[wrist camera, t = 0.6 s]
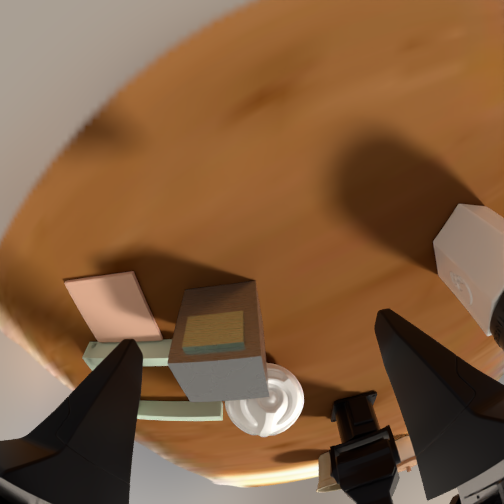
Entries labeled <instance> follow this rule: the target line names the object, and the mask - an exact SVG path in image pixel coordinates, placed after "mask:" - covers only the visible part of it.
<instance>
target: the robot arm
mask: <svg viewBox="0 0 504 504" xmlns="http://www.w3.org/2000/svg"><path fill="white" fill-rule="evenodd" d="M375 334H376V337H377V341H378V344H379V348H380V352H381V355H382V359H383V363H384V366H385V369H386V372H387V374H388V377H389V379H390V382H391V385H392V387H393V390H394V393H395V396H396V398H397V401H398V404H399V407H400V410H401V413H402V415H403V418H404V421H405V424H406V427H407V431H408V434H409V437H410V440H411V443H412V446H413V450H414V453H415V456H416V460H417V464H418V467H419V471H420V475H421V478H422V482H423V486H424V490H425V494H426V498H427V500H430V499H432V498H435V497H437V496H439V495H442V494H444V493H446V492H448V491H450V490H452V489H454V488H456V487H457V489H458V492H459V494H457V495H456V496H454V497H453V498H452V500H451V502H450V504H504V385H503V384H501V383H499V382H498V381H496V380H494V379H493V378H491V377H489V376H487V375H486V374H484V373H482V372H481V371H479V370H477V369H476V368H474V367H473V366H471V365H470V364H468V363H467V362H465V361H464V360H463V359H461V358H460V357H458V356H456V355H455V354H454V353H453V352H451V351H450V350H448V349H447V348H446V347H444V346H443V345H441V344H440V343H439V342H437V341H436V340H434V339H433V338H431V337H430V336H429V335H427V334H426V333H424V332H423V331H421V330H420V329H419V328H417V327H416V326H414V325H413V324H411V323H410V322H408V321H407V320H405V319H404V318H403V317H401V316H400V315H398V314H397V313H395V312H394V311H392V310H391V309H388V308H387V309H382V310H379V311H378V313H377V318H376V322H375ZM142 367H143V354H142V351H141V350H140V348H139V346H138V344H137V343H136V341H135V340H134V339H124V340H122V341H121V342H120V343H119V344H118V345H117V346H116V347H115V348H114V349H113V350H112V351H111V352H110V353H109V354H108V356H107V357H106V358H105V359H104V360H103V361H102V362H101V363H100V364H99V365H98V366H97V367H96V368H95V369H94V370H93V371H92V372H91V373H90V374H89V375H88V376H87V377H86V378H85V379H84V380H83V381H82V382H81V383H80V384H79V386H78V387H77V388H76V389H75V390H74V391H73V392H72V393H71V394H70V395H69V397H67V398H66V399H65V400H64V402H62V403H61V404H60V406H59V407H58V408H57V409H56V410H55V411H54V412H52V413H51V414H50V415H49V416H48V417H47V418H46V419H45V420H44V421H43V422H42V423H40V424H39V425H38V426H37V427H36V428H35V429H34V430H33V431H31V432H30V433H29V434H28V435H26V436H24V437H22V438H19V439H13V440H4V441H0V504H129V491H130V476H131V465H132V455H133V445H134V437H135V429H136V422H137V415H138V408H139V402H140V395H141V384H142ZM376 396H377V392H371V393H367V394H364V395H360V396H356V397H351V398H347V399H343V400H338V401H335V402H334V403H333V408H332V413H331V422H335V421H337V425H338V429H339V434H340V438H341V442H342V444H339V445H336V446H331V447H330V448H331V450H329V454H330V461H331V464H330V476H331V477H332V478H334V479H335V481H336V483H337V484H338V485H339V484H340V488H341V489H342V490H343V491H344V492H345V493H346V494H347V496H348V497H349V498H351V499H352V500H353V501H354V502H355V503H356V504H393V500H392V496H393V493H394V491H395V489H396V486H397V483H398V481H399V474H398V469H397V466H396V465H397V464H399V463H401V459H400V456H399V452H398V449H397V446H396V443H395V440H394V437H393V434H392V431H391V429H390V426H389V425H388V426H386V427H385V428H382V429H380V426H379V423H378V420H377V417H376V414H375V411H374V408H373V404H374V401H375V399H376ZM388 439H389V440H388Z"/></svg>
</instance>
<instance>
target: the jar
mask: <svg viewBox="0 0 504 504" xmlns="http://www.w3.org/2000/svg"><path fill="white" fill-rule="evenodd" d="M433 246H434V251H435V257H436V264H437V271H438V276H439V277H440V278H441V279H442V281H443V282H444V283H445V284H446V285H447V286H448V288H449V289H450V290H451V291H452V292H453V293H454V295H455V296H456V297H457V298H458V299H459V301H460V302H461V303H462V304H463V305H464V307H465V308H466V309H467V310H468V312H469V313H470V314H471V316H472V317H473V318H474V319H475V321H476V322H477V323H478V325H479V326H480V327H481V329H482V330H483V331H484V333H485V334H486V335H487V336H490V335H493V337H494V339H495V341H496V342H497V344H498V345H499V347H501V348H502V349H503V351H504V218H503V217H502V216H500V215H499V214H497V213H496V212H494V211H493V210H491V209H489V208H488V207H486V206H478V205H469V204H458V205H457V207H456V208H455V210H454V211H453V213H452V214H451V216H450V217H449V219H448V220H447V222H446V223H445V225H444V226H443V228H442V229H441V231H440V232H439V234H438V235H437V236H436V238H435V239H434V241H433Z"/></svg>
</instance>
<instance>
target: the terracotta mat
mask: <svg viewBox="0 0 504 504" xmlns="http://www.w3.org/2000/svg"><path fill="white" fill-rule="evenodd" d="M65 285H66V287H67V289H68V291H69V293H70V295H71V297H72V298H73V300H74V302H75V304H76V306H77V308H78V309H79V311H80V313H81V315H82V316H83V318H84V320H85V321H86V323H87V325H88V326H89V328H90V330H91V331H92V333H93V334H94V336H95V338H96V339H97V341H98V342H121V341H122V340H124V339H134V340H135V341H136V342H139V341H160V340H163V336H162V334H161V332H160V330H159V328H158V326H157V324H156V321H155V319H154V317H153V315H152V313H151V311H150V308H149V306H148V304H147V302H146V299H145V297H144V295H143V293H142V290H141V288H140V286H139V283H138V281H137V278H136V276H135V273H134V271H130V272H123V273H116V274H109V275H102V276H95V277H88V278H81V279H74V280H67V281H65Z"/></svg>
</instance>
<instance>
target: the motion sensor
mask: <svg viewBox="0 0 504 504" xmlns="http://www.w3.org/2000/svg"><path fill="white" fill-rule="evenodd" d="M266 364H267V375H268V386H269V397H264V398H254V399H244V400H231V401H225V407H226V411H227V413H228V415H229V417H230V419H231V420H232V422H233V423H234V424H235V425H236V426H237V427H238V428H239V429H241V430H242V431H244V432H246V433H248V434H250V435H259V436H261V437H267V436H269V435H276V434H279V433H281V432H283V431H285V430H286V429H288V428H289V427H290V426H291V425H292V424H293V423H294V422H295V421H296V420H297V418H298V417H299V415H300V413H301V411H302V408H303V405H304V394H303V390H302V387H301V385H300V383H299V381H298V380H297V379H296V377H295V376H294V375H293V374H292V373H291V372H290V371H289V370H287V369H286V368H284V367H282V366H279V365H276V364H272V363H266Z"/></svg>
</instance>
